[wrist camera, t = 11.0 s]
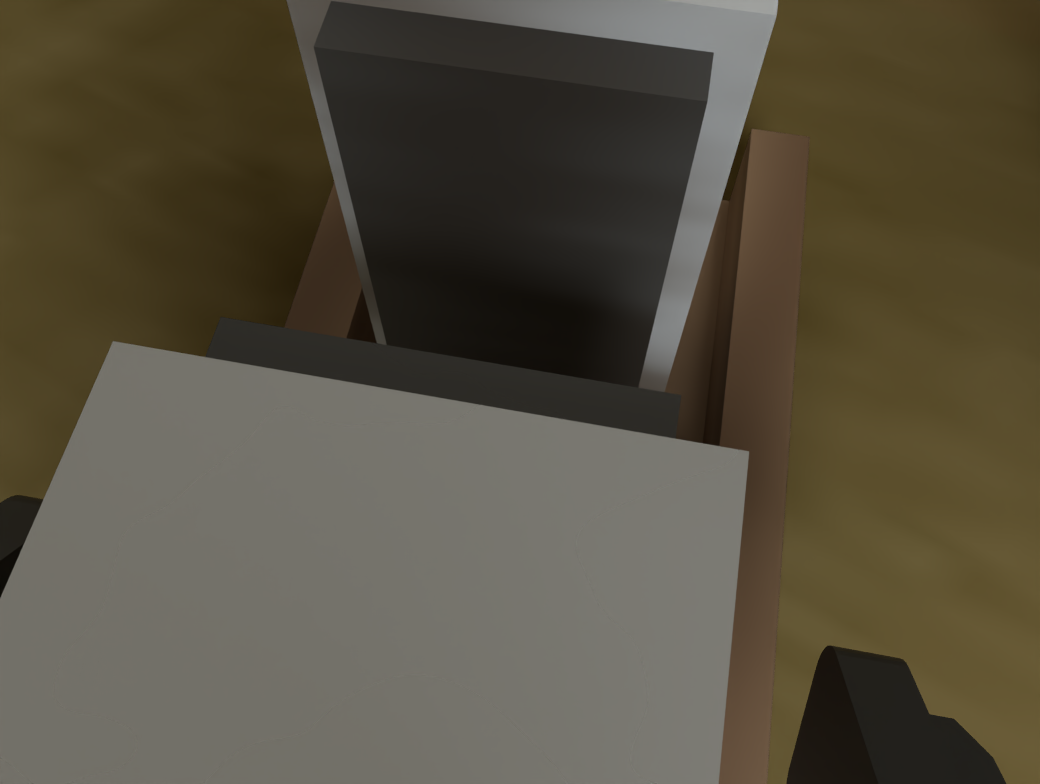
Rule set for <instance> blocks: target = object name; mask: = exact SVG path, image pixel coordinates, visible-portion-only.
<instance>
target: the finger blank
mask: <svg viewBox="0 0 1040 784" xmlns="http://www.w3.org/2000/svg"><path fill="white" fill-rule="evenodd" d="M680 401H681V395H678V394H672V393H667V392H661V391H655V390H649V389H643V388H637V387H631V386H625V385H619V384H613V383H608V382H602V381H596V380H590V379H584V378H578V377H572V376H566V375H560V374H554V373H549V372H543V371H537V370H531V369H525V368H519V367H513V366H507V365H501V364H495V363H490V362H484V361H478V360H472V359H466V358H460V357H454V356H448V355H442V354H436V353H431V352H425V351H419V350H413V349H407V348H401V347H395V346H389V345H383V344H377V343H372V342H366V341H360V340H354V339H348V338H342V337H336V336H330V335H324V334H318V333H313V332H307V331H301V330H295V329H289V328H283V327H277V326H271V325H265V324H259V323H254V322H248V321H242V320H236V319H230V318H224V317H220V320H219V323H218V325H217V328H216V330H215V333H214V336H213V338H212V341H211V343H210V346H209V349H208V351H207V354H206V356H205V357H201V356H196V355H190V354H184V353H178V352H173V351H167V350H161V349H155V348H150V347H144V346H138V345H132V344H126V343H121V342H115V341H113V343H112V345H111V347H110V349H109V352H108V354H107V356H106V359H105V361H104V363H103V365H102V368H101V370H100V372H99V374H98V377H97V379H96V381H95V384H94V386H93V388H92V390H91V393H90V395H89V397H88V400H87V402H86V404H85V406H84V409H83V411H82V413H81V415H80V418H79V420H78V422H77V425H76V427H75V429H74V431H73V434H72V436H71V438H70V441H69V443H68V445H67V447H66V450H65V452H64V454H63V456H62V459H61V461H60V463H59V466H58V468H57V470H56V472H55V475H54V477H53V479H52V481H51V484H50V486H49V488H48V491H47V493H46V495H45V497H44V500H43V502H42V504H41V507H40V509H39V511H38V513H37V516H36V518H35V520H34V522H33V525H32V527H31V529H30V532H29V534H28V536H27V538H26V541H25V543H24V545H23V548H22V550H21V552H20V554H19V557H18V559H17V561H16V563H15V566H14V568H13V570H12V573H11V575H10V577H9V579H8V582H7V584H6V586H5V589H4V591H3V593H2V595H1V598H0V784H719V773H720V762H721V752H722V741H723V730H724V719H725V708H726V697H727V687H728V676H729V665H730V654H731V643H732V632H733V622H734V611H735V600H736V589H737V578H738V567H739V556H740V546H741V535H742V524H743V513H744V502H745V491H746V481H747V470H748V459H749V451H744V450H738V449H732V448H726V447H720V446H715V445H709V444H703V443H697V442H692V441H686V440H680V439H676V432H677V424H678V417H679V409H680Z"/></svg>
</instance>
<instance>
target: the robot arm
mask: <svg viewBox="0 0 1040 784" xmlns="http://www.w3.org/2000/svg"><path fill="white" fill-rule="evenodd" d="M42 502H43V499H38V498H32V497H27V496H21V495H15V496H12V497H9V498H7V499H6V500H4V501H3V502H1V503H0V598H1V595H2V593H3V591H4V589H5V586H6V584H7V582H8V579H9V577H10V575H11V573H12V570H13V568H14V566H15V563H16V561H17V559H18V557H19V554H20V552H21V550H22V548H23V545H24V543H25V541H26V538H27V536H28V534H29V532H30V529H31V527H32V525H33V522H34V520H35V518H36V516H37V513H38V511H39V509H40V507H41V504H42ZM787 784H1006V782H1005V780H1004V778H1003V776H1002V774H1001V772H1000V770H999V768H998V767H997V765H996V763H995V761H994V759H993V757H992V756H991V755H990V754H989V753H988V752H987V751H986V750H985V749H984V748H983V747H982V746H981V745H980V744H979V743H978V742H977V741H976V740H975V739H974V738H973V737H972V736H971V735H970V734H969V733H968V732H967V731H966V730H965V729H964V728H963V727H962V726H961V725H960V724H959V723H958V722H957V721H956V720H955V719H952V718H946V717H941V716H936V715H930V714H929V713H928V710H927V708H926V706H925V703H924V701H923V699H922V697H921V694H920V692H919V690H918V688H917V685H916V683H915V681H914V678H913V676H912V674H911V672H910V669H909V667H908V665H907V663H906V662H905V661H904V660H903V659H900V658H895V657H890V656H884V655H879V654H873V653H868V652H862V651H857V650H851V649H846V648H841V647H835V646H827V647H826V648H825V649H824V650H823V652H822V653H821V655H820V658H819V660H818V663H817V667H816V670H815V674H814V678H813V681H812V685H811V689H810V693H809V696H808V700H807V704H806V708H805V711H804V715H803V719H802V723H801V726H800V730H799V734H798V738H797V741H796V745H795V749H794V753H793V756H792V760H791V764H790V768H789V772H788V778H787Z"/></svg>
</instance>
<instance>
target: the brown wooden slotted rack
mask: <svg viewBox="0 0 1040 784" xmlns="http://www.w3.org/2000/svg"><path fill="white" fill-rule="evenodd" d="M287 4H288V8H289V11H290V15H291V19H292V23H293V27H294V30H295V34H296V38H297V42H298V46H299V49H300V53H301V57H302V61H303V65H304V68H305V72H306V76H307V80H308V83H309V87H310V91H311V95H312V99H313V102H314V106H315V110H316V114H317V118H318V121H319V125H320V129H321V133H322V137H323V140H324V144H325V148H326V152H327V156H328V159H329V163H330V167H331V171H332V175H333V178H334V184H333V186H332V189H331V192H330V195H329V198H328V201H327V204H326V207H325V210H324V213H323V216H322V218H321V221H320V224H319V227H318V230H317V233H316V236H315V239H314V242H313V245H312V248H311V251H310V253H309V256H308V259H307V262H306V265H305V268H304V271H303V274H302V277H301V280H300V283H299V285H298V288H297V291H296V294H295V297H294V300H293V303H292V306H291V309H290V312H289V315H288V318H287V320H286V323H285V326H284V328H289V329H295V330H301V331H307V332H313V333H318V334H324V335H330V336H336V337H342V338H348V339H354V340H360V341H366V342H372V343H377V344H383V345H389V346H395V347H401V348H407V349H413V350H419V351H425V352H431V353H436V354H442V355H448V356H454V357H460V358H466V359H472V360H478V361H484V362H490V363H495V364H501V365H507V366H513V367H519V368H525V369H531V370H537V371H543V372H549V373H554V374H560V375H566V376H572V377H578V378H584V379H590V380H596V381H602V382H608V383H613V384H619V385H625V386H631V387H637V388H643V389H649V390H655V391H661V392H667V393H672V394H678V395H681V401H680V409H679V417H678V424H677V432H676V439H680V440H686V441H692V442H697V443H703V444H709V445H715V446H720V447H726V448H732V449H738V450H744V451H749V459H748V470H747V481H746V491H745V502H744V513H743V524H742V535H741V546H740V556H739V567H738V578H737V589H736V600H735V611H734V622H733V632H732V643H731V654H730V665H729V676H728V687H727V697H726V708H725V719H724V730H723V741H722V752H721V762H720V773H719V784H767V776H768V761H769V745H770V730H771V715H772V700H773V685H774V670H775V654H776V639H777V624H778V609H779V594H780V579H781V564H782V548H783V533H784V518H785V503H786V488H787V473H788V457H789V442H790V427H791V412H792V397H793V382H794V367H795V351H796V336H797V321H798V306H799V291H800V276H801V260H802V245H803V230H804V215H805V200H806V185H807V169H808V154H809V139H810V137H807V136H800V135H793V134H786V133H779V132H772V131H765V130H758V129H752V130H751V133H750V136H749V139H748V143H747V146H746V149H745V152H744V155H743V159H742V162H741V165H740V168H739V172H738V175H737V178H736V181H735V185H734V188H733V191H732V194H731V197H730V201H728V200H722V197H723V194H724V191H725V187H726V184H727V180H728V177H729V174H730V170H731V167H732V164H733V160H734V157H735V154H736V150H737V147H738V144H739V140H740V137H741V133H742V130H743V127H744V123H745V120H746V117H747V113H748V110H749V107H750V103H751V100H752V96H753V93H754V90H755V86H756V83H757V80H758V76H759V73H760V70H761V66H762V63H763V60H764V56H765V53H766V49H767V46H768V43H769V39H770V36H771V33H772V29H773V26H774V23H775V19H776V16H777V7H778V0H287Z"/></svg>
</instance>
